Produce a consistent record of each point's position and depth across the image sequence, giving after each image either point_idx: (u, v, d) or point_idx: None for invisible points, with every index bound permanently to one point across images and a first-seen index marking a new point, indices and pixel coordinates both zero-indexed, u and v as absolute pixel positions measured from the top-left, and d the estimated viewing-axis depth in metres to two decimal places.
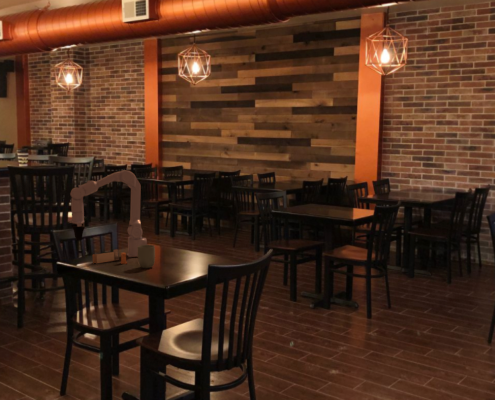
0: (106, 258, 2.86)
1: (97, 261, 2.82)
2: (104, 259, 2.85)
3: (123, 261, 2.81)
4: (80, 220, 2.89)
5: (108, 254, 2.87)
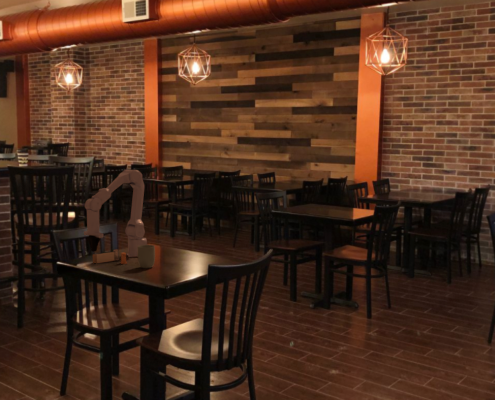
0: (106, 258, 2.86)
1: (97, 261, 2.82)
2: (104, 259, 2.85)
3: (123, 261, 2.81)
4: (98, 231, 2.85)
5: (108, 254, 2.87)
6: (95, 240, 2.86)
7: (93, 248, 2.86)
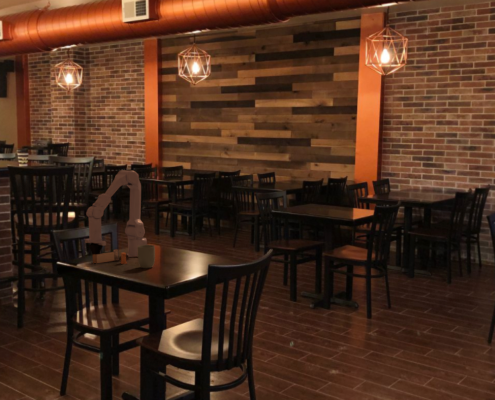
0: (106, 258, 2.86)
1: (97, 261, 2.82)
2: (104, 259, 2.85)
3: (123, 261, 2.81)
4: (100, 239, 2.84)
5: (108, 254, 2.87)
6: (97, 248, 2.86)
7: None
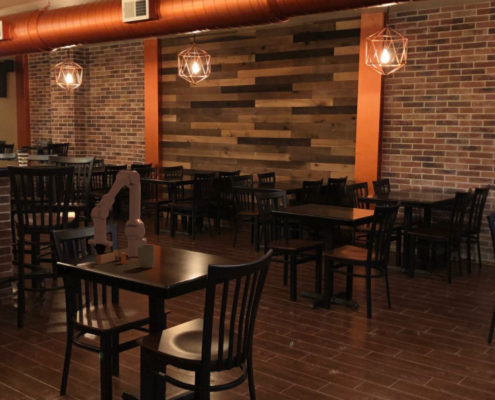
0: (108, 258, 2.85)
1: (101, 262, 2.81)
2: (107, 259, 2.84)
3: (123, 261, 2.81)
4: (105, 240, 2.82)
5: (110, 254, 2.86)
6: (101, 248, 2.83)
7: None
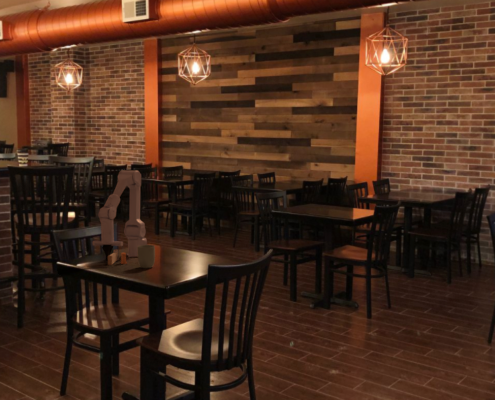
0: (114, 258, 2.85)
1: (112, 262, 2.80)
2: (114, 259, 2.84)
3: (123, 261, 2.81)
4: (113, 240, 2.81)
5: (115, 254, 2.86)
6: None
7: (107, 257, 2.81)
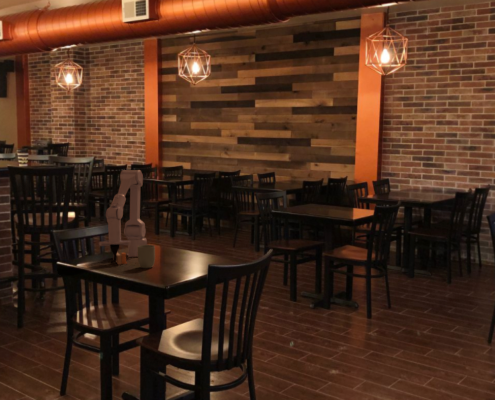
0: None
1: None
2: None
3: (123, 261, 2.81)
4: None
5: (118, 254, 2.86)
6: None
7: (115, 257, 2.81)
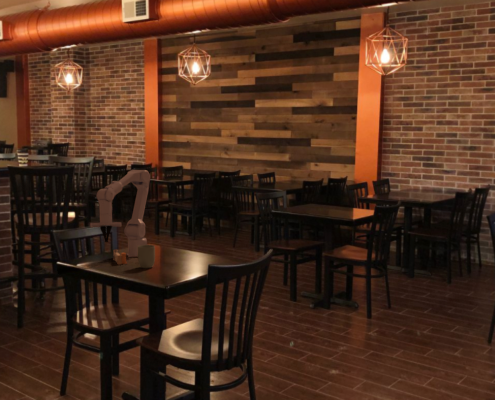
0: None
1: None
2: None
3: (123, 261, 2.81)
4: None
5: (118, 254, 2.86)
6: None
7: None
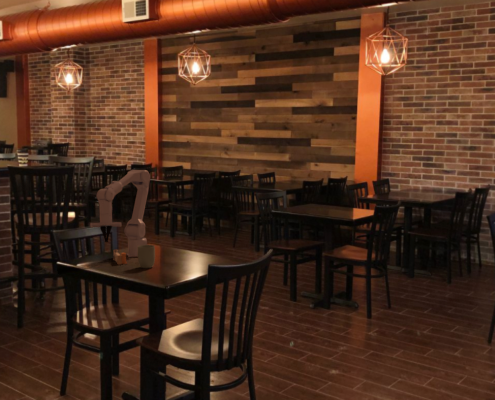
0: None
1: None
2: None
3: (123, 261, 2.81)
4: None
5: (118, 254, 2.86)
6: None
7: None
